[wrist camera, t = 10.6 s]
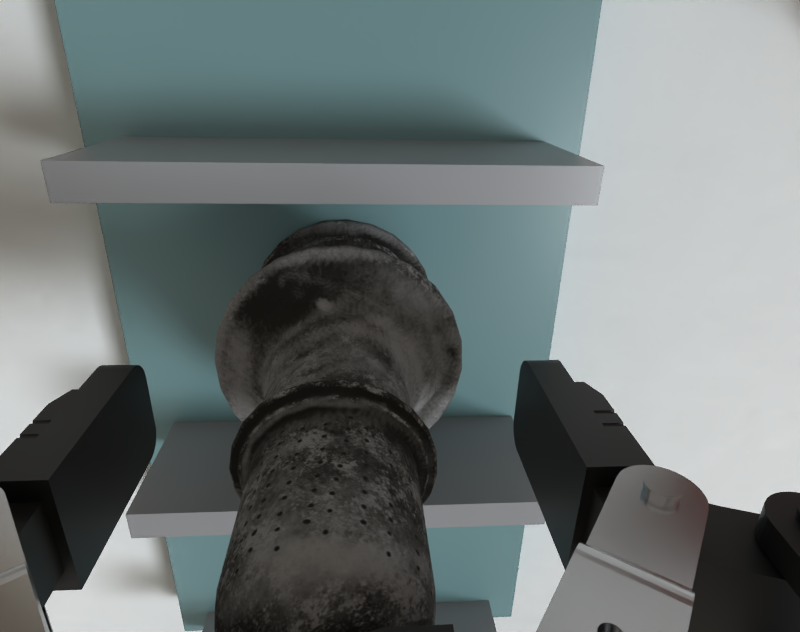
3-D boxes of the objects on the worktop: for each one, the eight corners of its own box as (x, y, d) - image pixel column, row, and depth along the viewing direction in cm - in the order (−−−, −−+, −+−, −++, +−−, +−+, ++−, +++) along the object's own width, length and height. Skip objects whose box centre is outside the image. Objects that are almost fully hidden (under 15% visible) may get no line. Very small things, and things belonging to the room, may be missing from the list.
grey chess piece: (403, 411, 18) (475, 934, 7) (223, 364, 17) (-23, 900, 6) (472, 246, 16) (724, 627, 5) (271, 179, 15) (28, 483, 4)
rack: (22, -316, 12) (-229, -599, 7) (618, -278, 13) (787, -503, 8) (195, 597, 23) (149, 744, 18) (502, 585, 24) (539, 722, 19)
